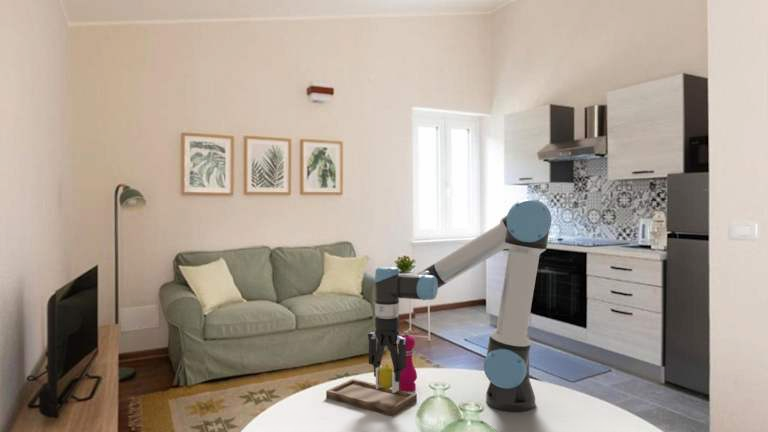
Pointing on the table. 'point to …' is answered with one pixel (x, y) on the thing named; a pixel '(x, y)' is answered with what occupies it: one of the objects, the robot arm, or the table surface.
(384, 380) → the lemon
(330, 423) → the table surface
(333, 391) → the walnut tray
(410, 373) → the pepper mill
